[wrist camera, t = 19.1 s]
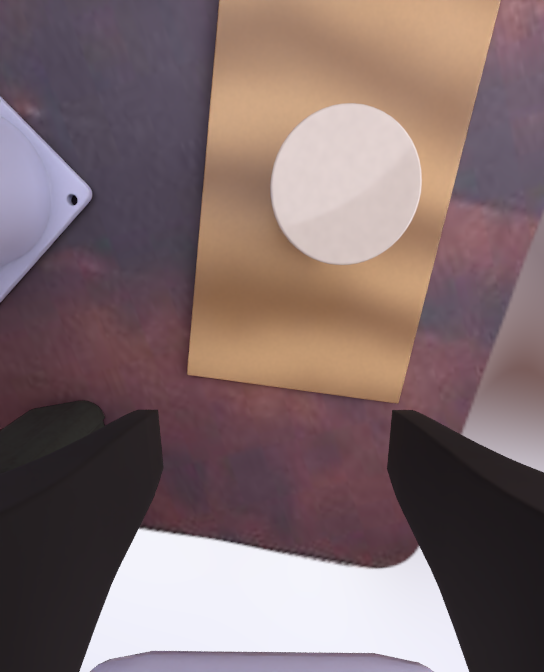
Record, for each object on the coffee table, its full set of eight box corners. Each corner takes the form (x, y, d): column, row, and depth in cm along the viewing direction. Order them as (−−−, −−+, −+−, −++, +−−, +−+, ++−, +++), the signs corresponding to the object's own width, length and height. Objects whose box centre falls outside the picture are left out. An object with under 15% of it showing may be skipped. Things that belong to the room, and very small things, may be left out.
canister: (250, 200, 18) (238, 184, 12) (331, 119, 17) (356, 63, 11) (319, 279, 19) (337, 294, 13) (400, 206, 18) (453, 191, 12)
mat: (395, 400, 21) (398, 404, 20) (188, 371, 21) (186, 375, 20) (500, -19, 16) (508, -27, 15) (226, -65, 15) (225, -75, 15)
